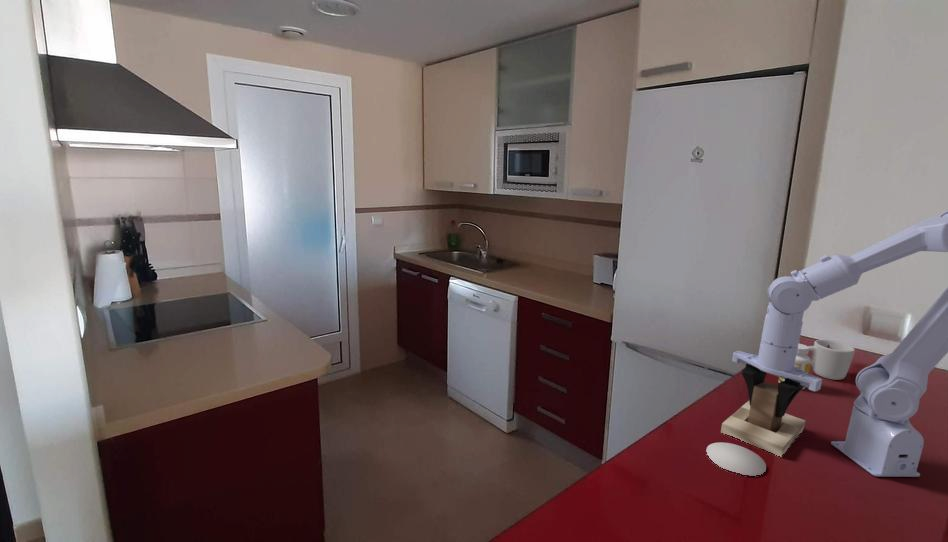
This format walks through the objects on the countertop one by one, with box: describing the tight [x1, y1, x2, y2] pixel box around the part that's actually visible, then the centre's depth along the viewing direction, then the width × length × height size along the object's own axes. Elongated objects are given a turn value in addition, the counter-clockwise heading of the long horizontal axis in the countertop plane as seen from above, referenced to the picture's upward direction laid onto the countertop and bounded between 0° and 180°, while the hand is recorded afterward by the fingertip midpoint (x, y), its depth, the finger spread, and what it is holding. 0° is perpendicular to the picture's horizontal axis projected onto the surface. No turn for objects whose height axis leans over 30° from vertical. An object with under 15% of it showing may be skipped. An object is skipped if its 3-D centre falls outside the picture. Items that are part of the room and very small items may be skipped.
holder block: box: [720, 400, 806, 458], centre depth 89 cm, size 10×14×2 cm
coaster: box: [705, 441, 767, 477], centre depth 80 cm, size 9×9×1 cm
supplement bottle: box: [777, 343, 811, 390], centre depth 109 cm, size 5×5×10 cm
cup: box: [807, 339, 856, 381], centre depth 116 cm, size 11×8×8 cm
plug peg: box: [748, 381, 782, 433], centre depth 89 cm, size 4×4×8 cm
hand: (766, 410), depth 89 cm, fingers closed on plug peg, 4 cm apart
